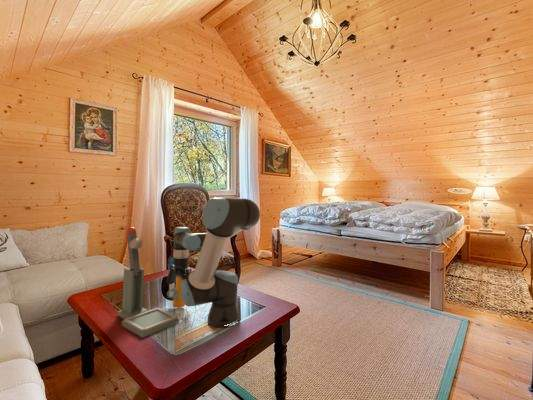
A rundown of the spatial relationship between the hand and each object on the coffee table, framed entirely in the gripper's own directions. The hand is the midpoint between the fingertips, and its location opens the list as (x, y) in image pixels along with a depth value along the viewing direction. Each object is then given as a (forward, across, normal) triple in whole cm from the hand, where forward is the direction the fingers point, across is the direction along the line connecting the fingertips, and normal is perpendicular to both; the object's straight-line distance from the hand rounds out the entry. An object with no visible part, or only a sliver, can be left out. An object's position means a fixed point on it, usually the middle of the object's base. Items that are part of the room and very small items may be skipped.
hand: (179, 298), depth 144 cm
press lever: (-26, +8, +19) cm, 33 cm away
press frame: (+5, +1, +19) cm, 19 cm away
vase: (+5, +34, -25) cm, 42 cm away
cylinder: (+4, 0, 0) cm, 4 cm away
